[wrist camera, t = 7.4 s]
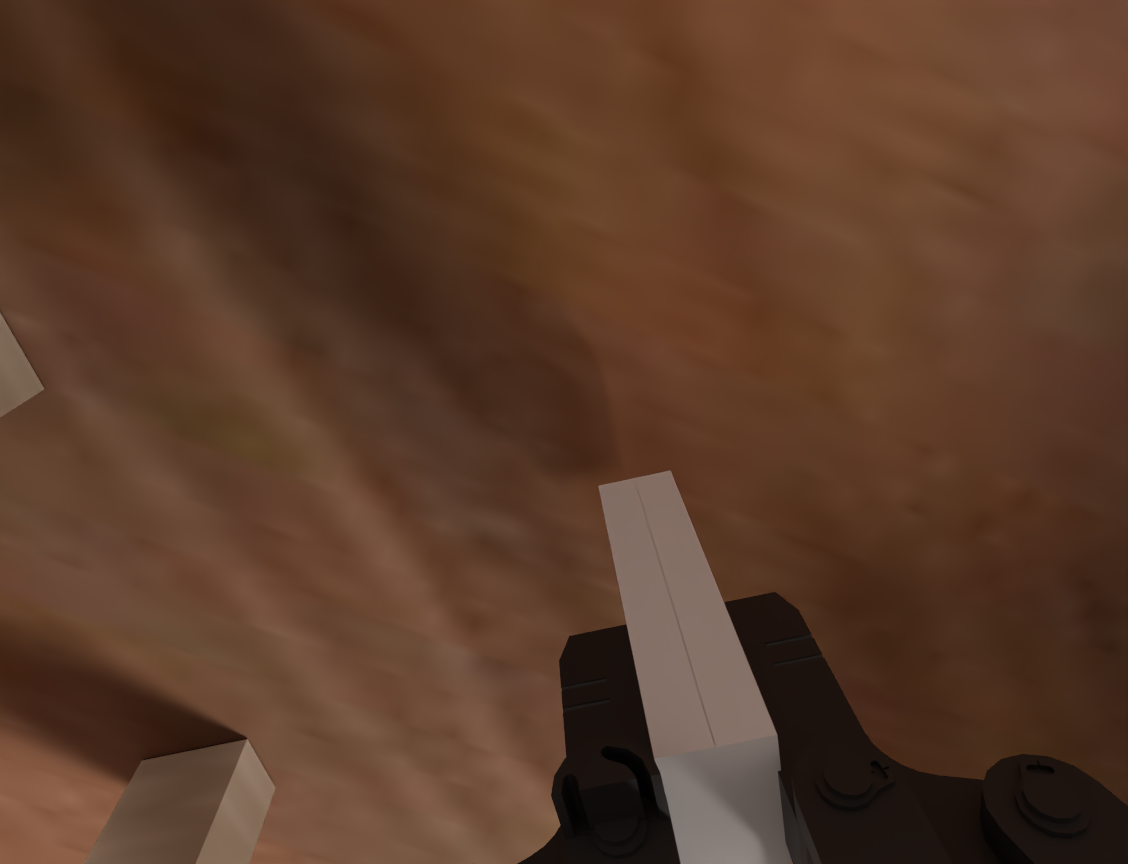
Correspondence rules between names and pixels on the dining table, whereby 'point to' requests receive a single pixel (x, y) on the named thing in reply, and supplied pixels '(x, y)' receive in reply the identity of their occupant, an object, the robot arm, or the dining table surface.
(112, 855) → the bridge
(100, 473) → the dining table surface
